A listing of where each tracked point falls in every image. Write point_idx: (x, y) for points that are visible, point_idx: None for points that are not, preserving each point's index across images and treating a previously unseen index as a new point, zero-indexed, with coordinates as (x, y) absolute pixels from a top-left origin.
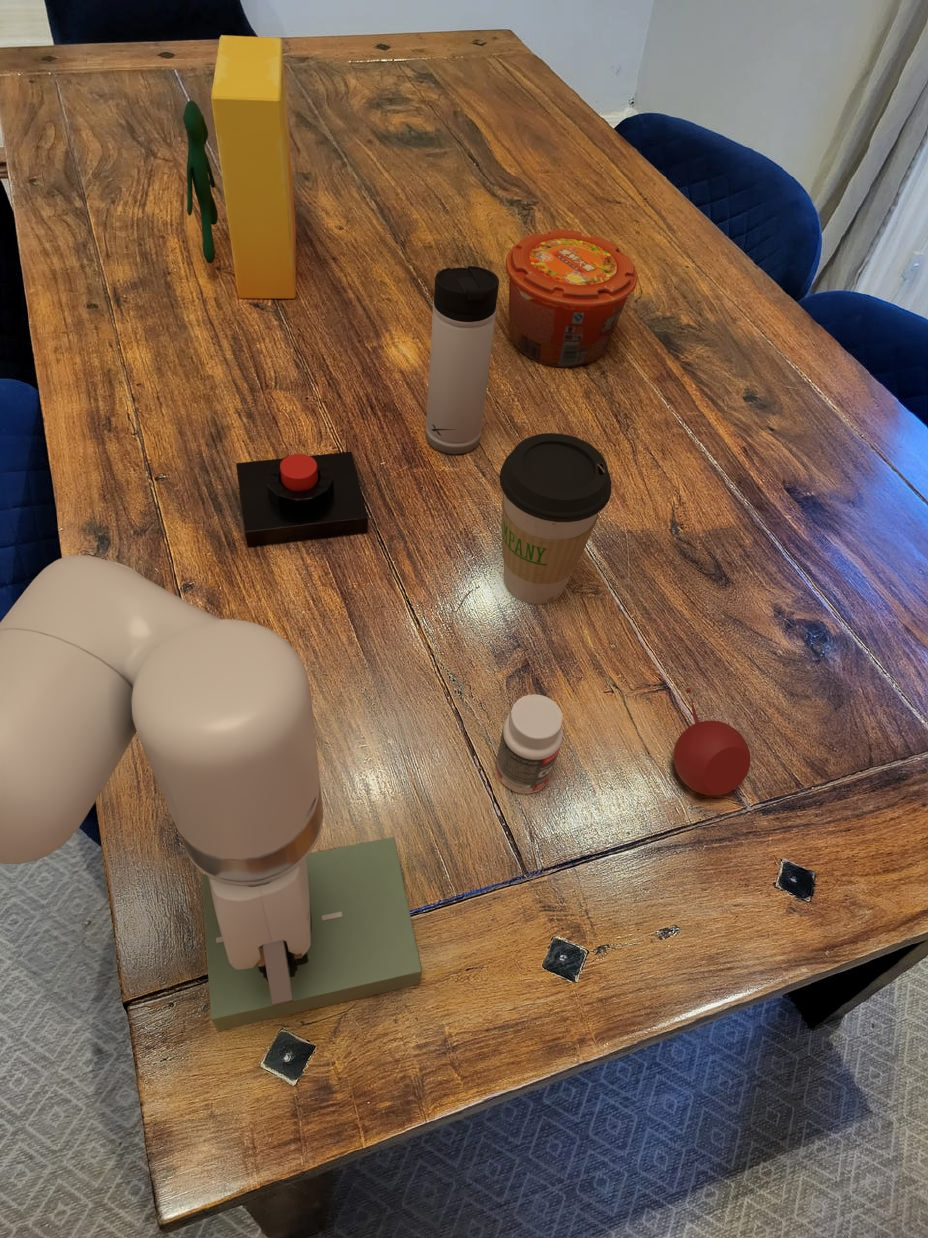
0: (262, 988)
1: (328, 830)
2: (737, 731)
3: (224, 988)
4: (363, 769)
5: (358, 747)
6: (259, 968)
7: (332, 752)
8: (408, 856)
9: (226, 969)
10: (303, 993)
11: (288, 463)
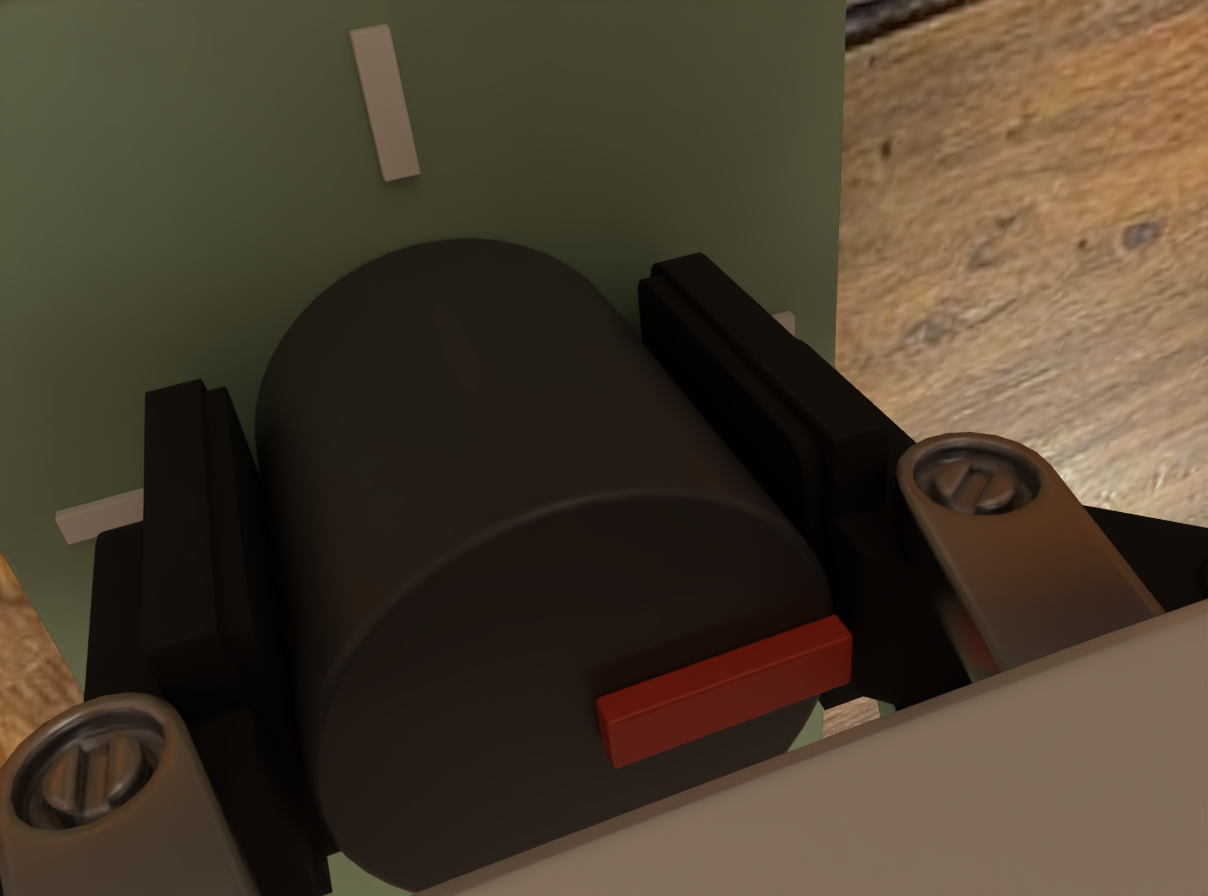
0: (56, 382)
1: (887, 414)
2: None
3: (7, 130)
4: (1077, 494)
5: (1160, 464)
6: (148, 436)
7: (1181, 378)
8: None
9: (158, 129)
10: (65, 601)
11: None
